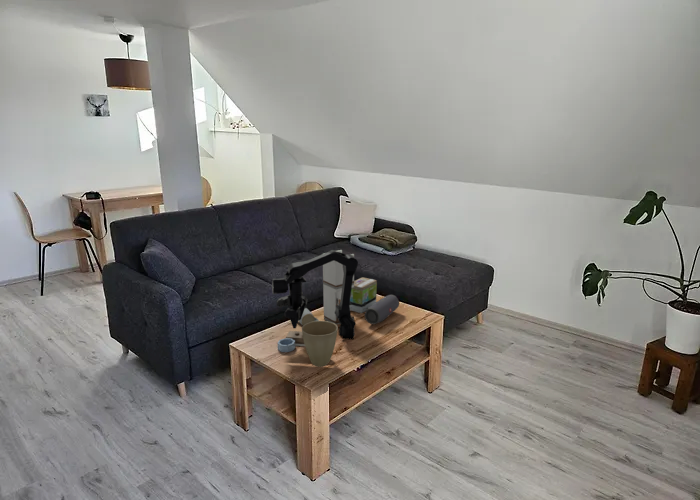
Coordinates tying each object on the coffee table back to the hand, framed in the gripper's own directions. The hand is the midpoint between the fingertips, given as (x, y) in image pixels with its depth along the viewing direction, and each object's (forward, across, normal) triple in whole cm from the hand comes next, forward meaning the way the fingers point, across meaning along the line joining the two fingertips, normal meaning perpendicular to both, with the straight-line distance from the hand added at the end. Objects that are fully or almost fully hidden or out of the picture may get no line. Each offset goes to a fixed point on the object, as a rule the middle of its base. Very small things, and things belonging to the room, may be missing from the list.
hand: (297, 323), depth 214 cm
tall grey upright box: (+10, -28, +15) cm, 33 cm away
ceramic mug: (+10, -21, 0) cm, 23 cm away
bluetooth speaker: (+10, -32, +37) cm, 50 cm away
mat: (+9, 0, 0) cm, 9 cm away
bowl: (+9, +8, -3) cm, 13 cm away
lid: (+8, 0, 0) cm, 8 cm away
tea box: (+10, -46, +25) cm, 53 cm away
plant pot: (+9, +17, +14) cm, 24 cm away
